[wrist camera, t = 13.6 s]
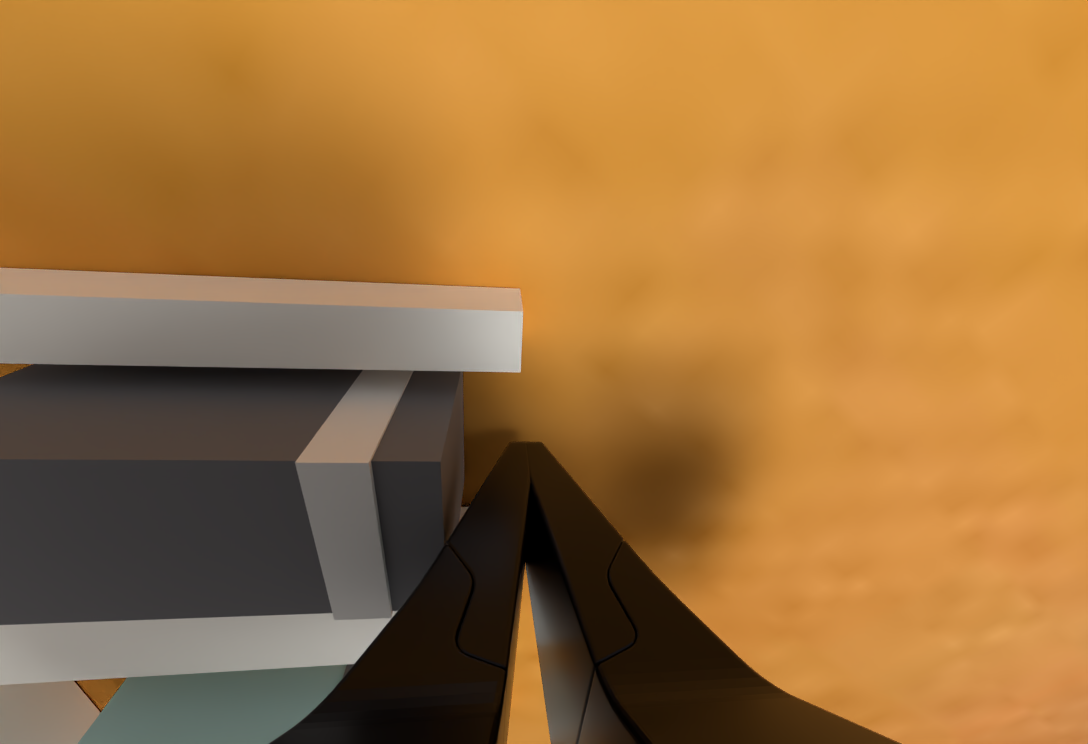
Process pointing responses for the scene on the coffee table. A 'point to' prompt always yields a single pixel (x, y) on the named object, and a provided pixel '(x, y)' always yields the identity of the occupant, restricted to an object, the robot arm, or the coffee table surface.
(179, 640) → the slot rack
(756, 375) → the coffee table surface
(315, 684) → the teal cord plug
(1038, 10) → the coffee table surface
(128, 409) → the dark grey block
